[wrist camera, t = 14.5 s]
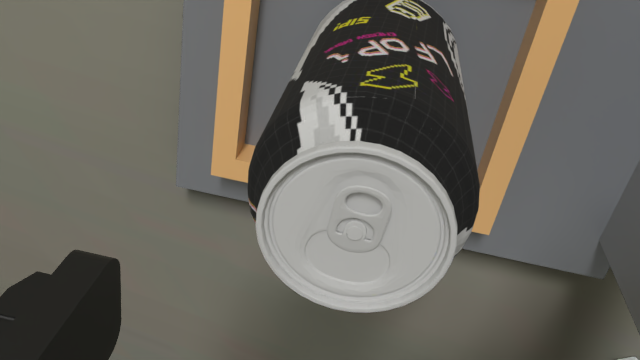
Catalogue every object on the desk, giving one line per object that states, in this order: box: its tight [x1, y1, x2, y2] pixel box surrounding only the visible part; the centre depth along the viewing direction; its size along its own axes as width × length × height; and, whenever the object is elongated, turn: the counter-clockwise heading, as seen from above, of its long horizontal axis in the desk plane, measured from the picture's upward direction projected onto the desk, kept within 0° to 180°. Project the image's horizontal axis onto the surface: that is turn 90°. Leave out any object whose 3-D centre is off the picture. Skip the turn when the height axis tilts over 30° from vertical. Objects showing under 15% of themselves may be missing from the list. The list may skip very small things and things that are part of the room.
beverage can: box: [247, 0, 480, 313], centre depth 18 cm, size 6×6×12 cm
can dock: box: [176, 0, 640, 334], centre depth 17 cm, size 20×16×18 cm
